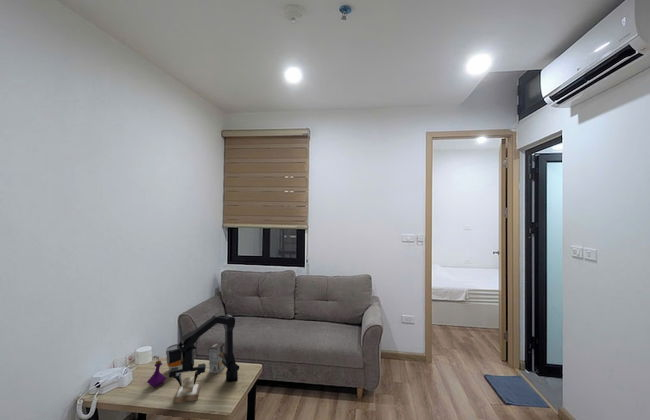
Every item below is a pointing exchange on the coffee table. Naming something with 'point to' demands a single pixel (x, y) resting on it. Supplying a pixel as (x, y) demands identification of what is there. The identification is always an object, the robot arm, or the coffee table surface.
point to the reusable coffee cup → (175, 364)
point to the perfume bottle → (157, 375)
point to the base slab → (187, 394)
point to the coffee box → (216, 357)
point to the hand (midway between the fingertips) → (187, 385)
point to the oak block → (187, 384)
